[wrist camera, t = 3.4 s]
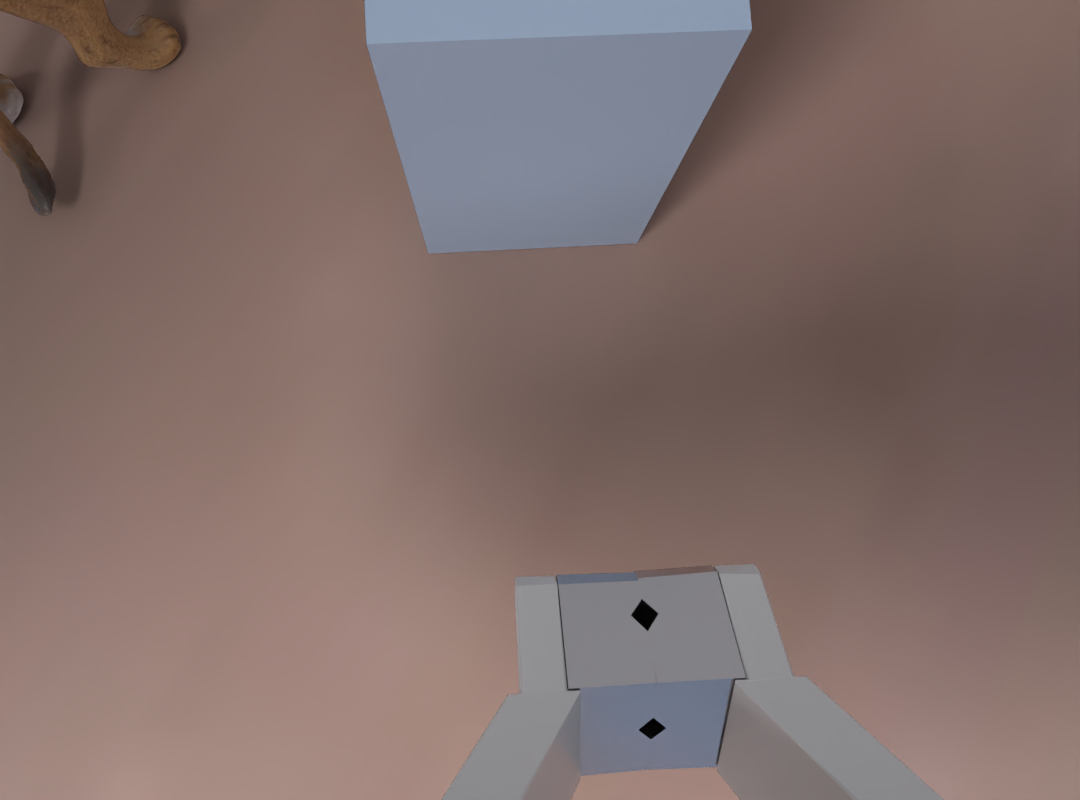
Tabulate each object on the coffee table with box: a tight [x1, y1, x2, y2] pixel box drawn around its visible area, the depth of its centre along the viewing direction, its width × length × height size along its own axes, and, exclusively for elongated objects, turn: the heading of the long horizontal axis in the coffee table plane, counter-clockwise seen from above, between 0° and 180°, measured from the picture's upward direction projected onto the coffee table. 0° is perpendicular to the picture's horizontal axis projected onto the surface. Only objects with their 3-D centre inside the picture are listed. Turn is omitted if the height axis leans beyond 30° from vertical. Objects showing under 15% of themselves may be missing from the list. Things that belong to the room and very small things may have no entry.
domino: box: [365, 0, 752, 254], centre depth 17 cm, size 5×2×10 cm, turn 94°
